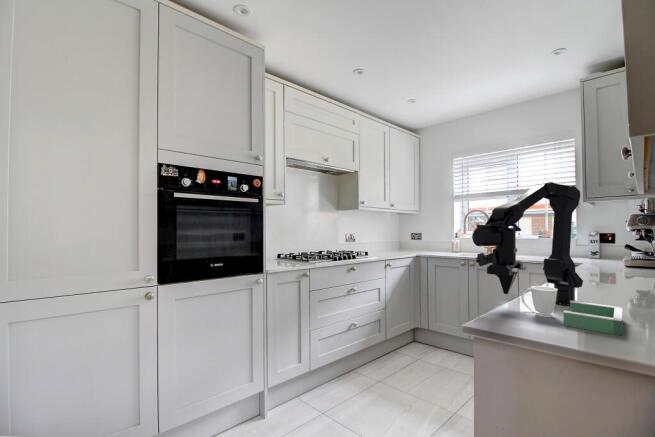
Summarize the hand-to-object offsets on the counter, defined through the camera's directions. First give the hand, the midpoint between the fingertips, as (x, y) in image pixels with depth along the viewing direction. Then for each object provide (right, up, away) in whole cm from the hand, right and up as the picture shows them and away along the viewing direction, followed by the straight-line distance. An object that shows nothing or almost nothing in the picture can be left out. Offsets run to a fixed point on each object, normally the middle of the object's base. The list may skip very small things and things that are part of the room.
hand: (505, 293), depth 103 cm
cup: (+6, -5, -6) cm, 10 cm away
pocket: (+15, -4, -14) cm, 21 cm away
